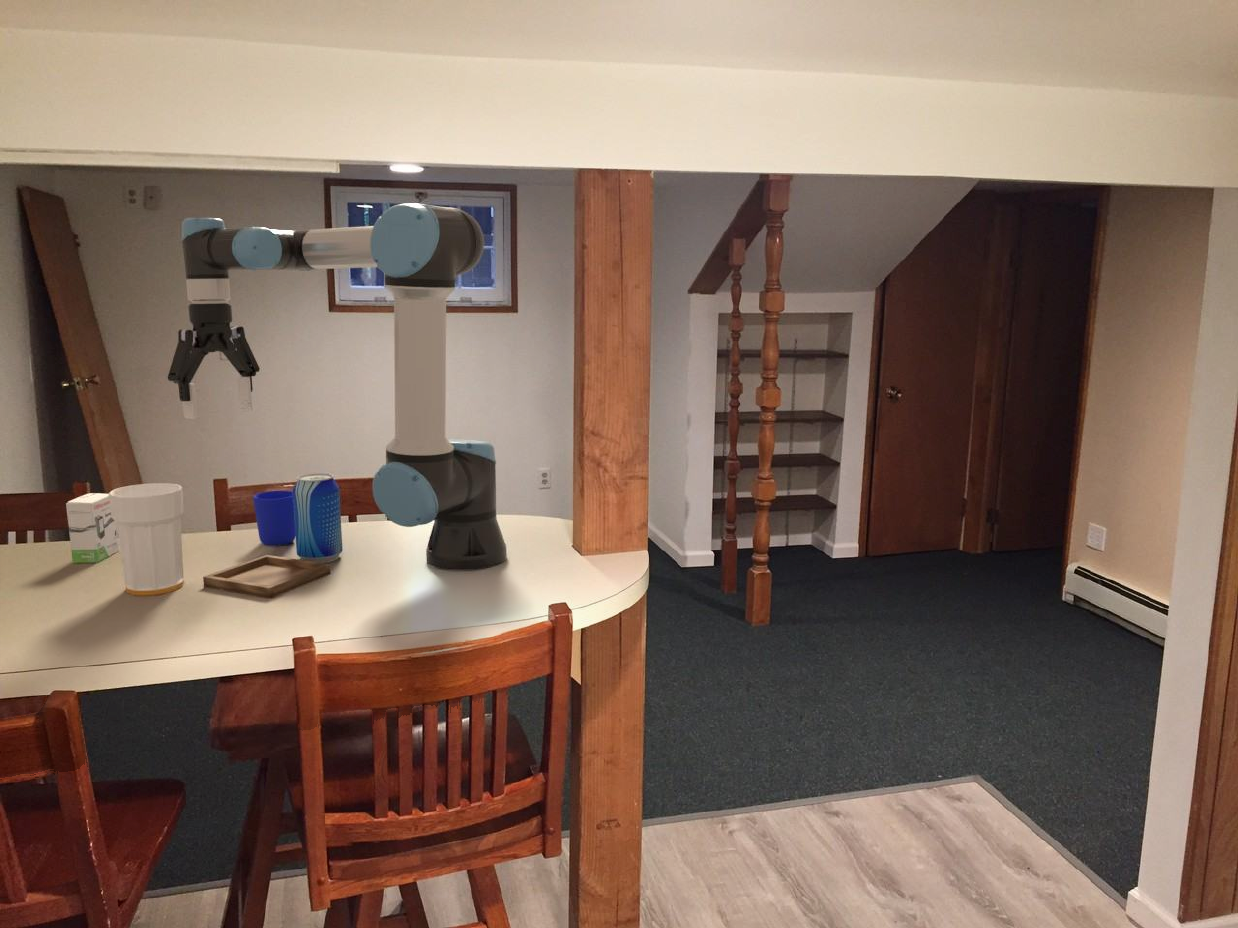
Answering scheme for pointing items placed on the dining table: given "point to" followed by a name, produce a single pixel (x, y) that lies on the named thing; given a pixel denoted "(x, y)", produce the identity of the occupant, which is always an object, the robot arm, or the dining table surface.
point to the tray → (267, 576)
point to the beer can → (317, 518)
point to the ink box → (91, 528)
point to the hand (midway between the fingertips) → (219, 414)
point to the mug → (275, 517)
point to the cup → (149, 536)
